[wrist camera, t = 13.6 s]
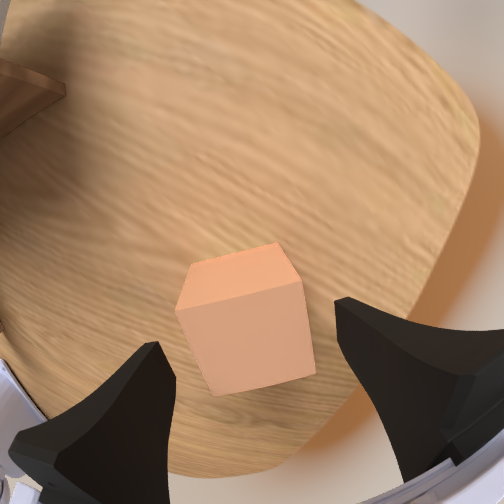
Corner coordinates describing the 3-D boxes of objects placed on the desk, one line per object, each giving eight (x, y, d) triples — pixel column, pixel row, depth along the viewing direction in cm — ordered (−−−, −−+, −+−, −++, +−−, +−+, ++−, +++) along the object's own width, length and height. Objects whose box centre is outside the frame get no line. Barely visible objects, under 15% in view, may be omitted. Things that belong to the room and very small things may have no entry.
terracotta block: (292, 316, 15) (316, 373, 10) (216, 334, 15) (213, 396, 10) (277, 242, 14) (301, 280, 9) (191, 263, 14) (174, 311, 9)
